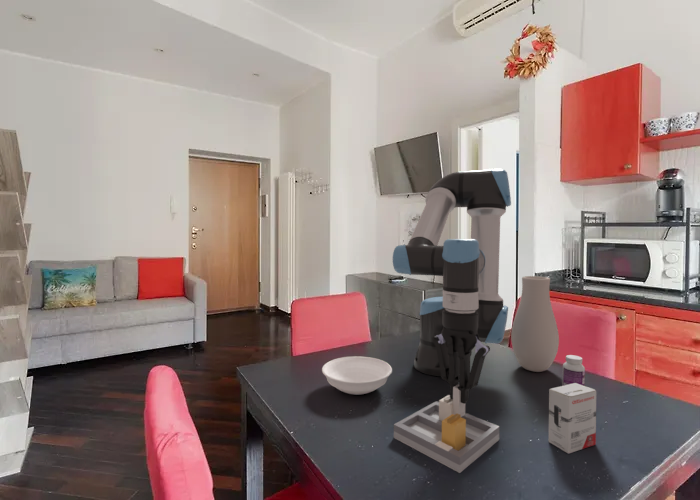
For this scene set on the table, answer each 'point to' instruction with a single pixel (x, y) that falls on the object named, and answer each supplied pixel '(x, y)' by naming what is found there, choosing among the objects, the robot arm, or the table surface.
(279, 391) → the table surface
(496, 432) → the frame
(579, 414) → the ink box
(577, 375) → the pill bottle
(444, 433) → the amber tab
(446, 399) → the ivory tab
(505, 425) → the table surface
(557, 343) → the vase
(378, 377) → the bowl
